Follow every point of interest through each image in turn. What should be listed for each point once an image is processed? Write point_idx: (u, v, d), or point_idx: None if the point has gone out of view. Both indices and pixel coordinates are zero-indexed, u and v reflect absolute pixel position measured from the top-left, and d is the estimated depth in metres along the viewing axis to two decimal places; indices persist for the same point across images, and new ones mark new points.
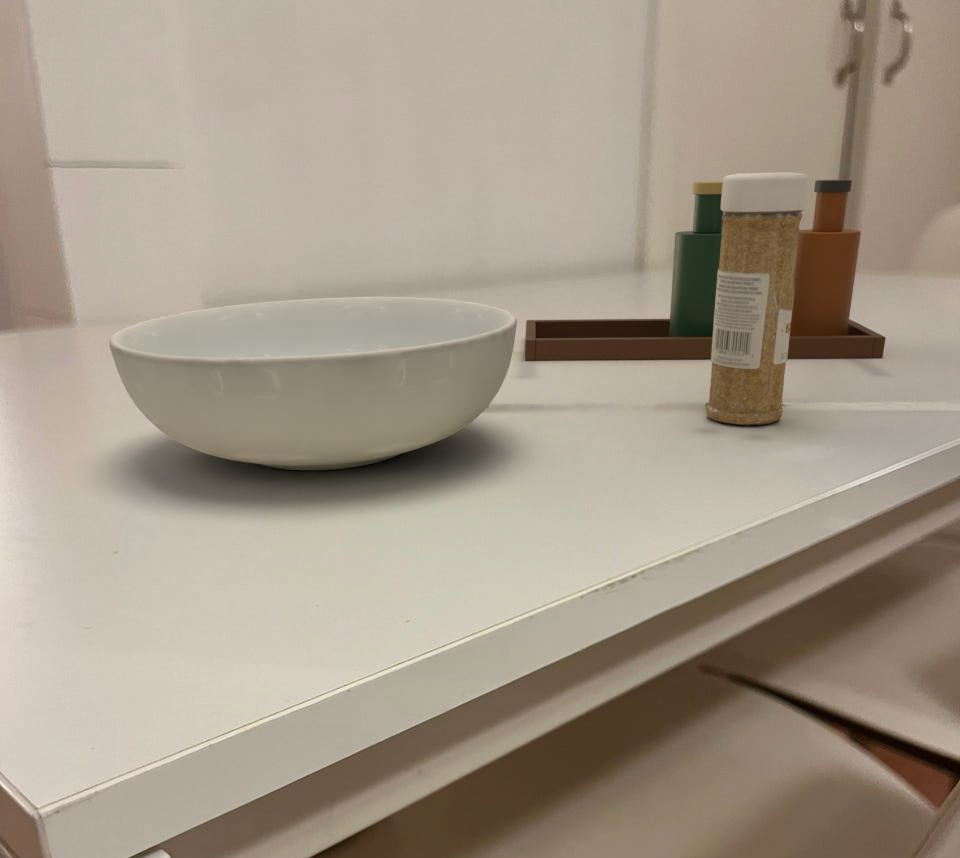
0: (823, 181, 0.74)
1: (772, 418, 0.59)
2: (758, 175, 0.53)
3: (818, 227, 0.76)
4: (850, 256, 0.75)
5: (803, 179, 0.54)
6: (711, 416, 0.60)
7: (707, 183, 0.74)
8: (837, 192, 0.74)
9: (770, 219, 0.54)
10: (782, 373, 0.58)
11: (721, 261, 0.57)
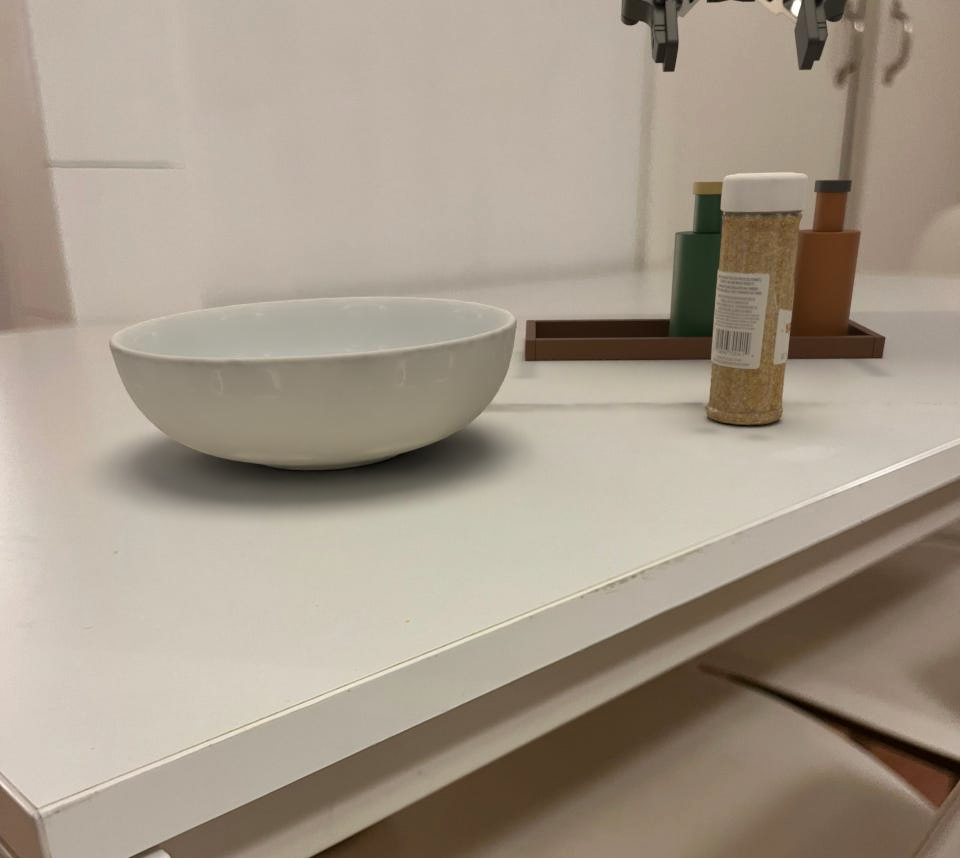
0: (823, 181, 0.74)
1: (772, 418, 0.59)
2: (758, 175, 0.53)
3: (818, 227, 0.76)
4: (850, 256, 0.75)
5: (803, 179, 0.54)
6: (711, 416, 0.60)
7: (707, 183, 0.74)
8: (837, 192, 0.74)
9: (770, 219, 0.54)
10: (782, 373, 0.58)
11: (721, 261, 0.57)
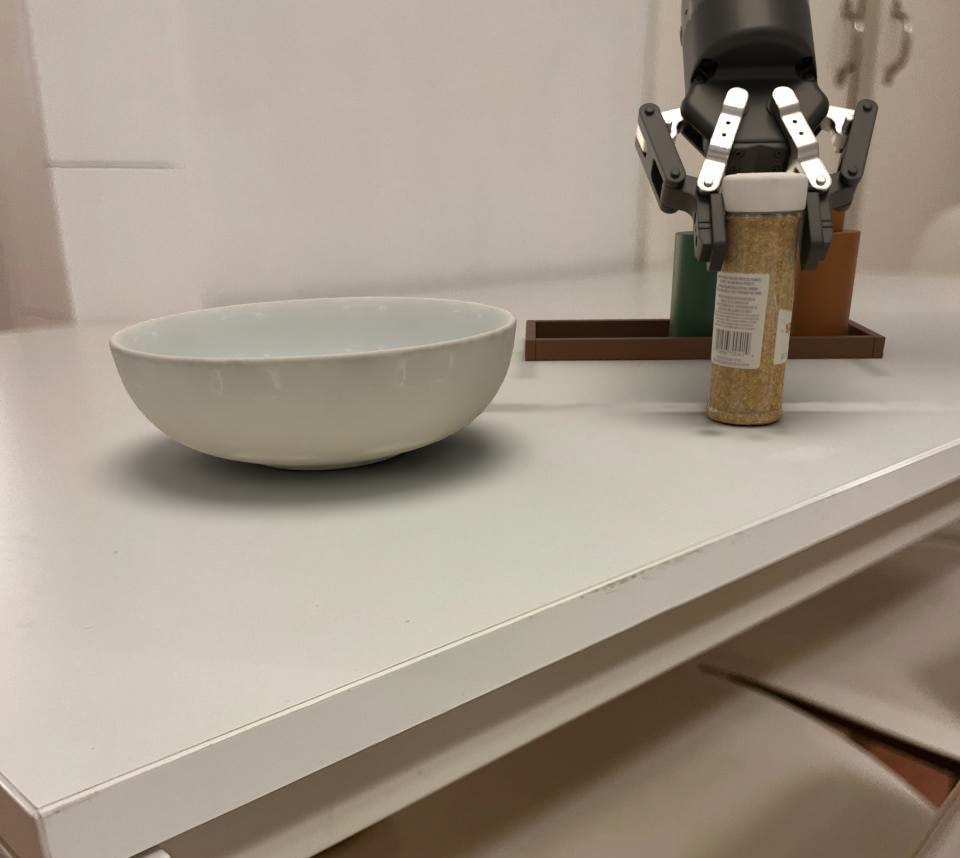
0: None
1: (772, 418, 0.59)
2: (758, 175, 0.53)
3: None
4: (850, 256, 0.75)
5: (803, 179, 0.54)
6: (711, 416, 0.60)
7: None
8: None
9: (770, 219, 0.54)
10: (782, 373, 0.58)
11: None
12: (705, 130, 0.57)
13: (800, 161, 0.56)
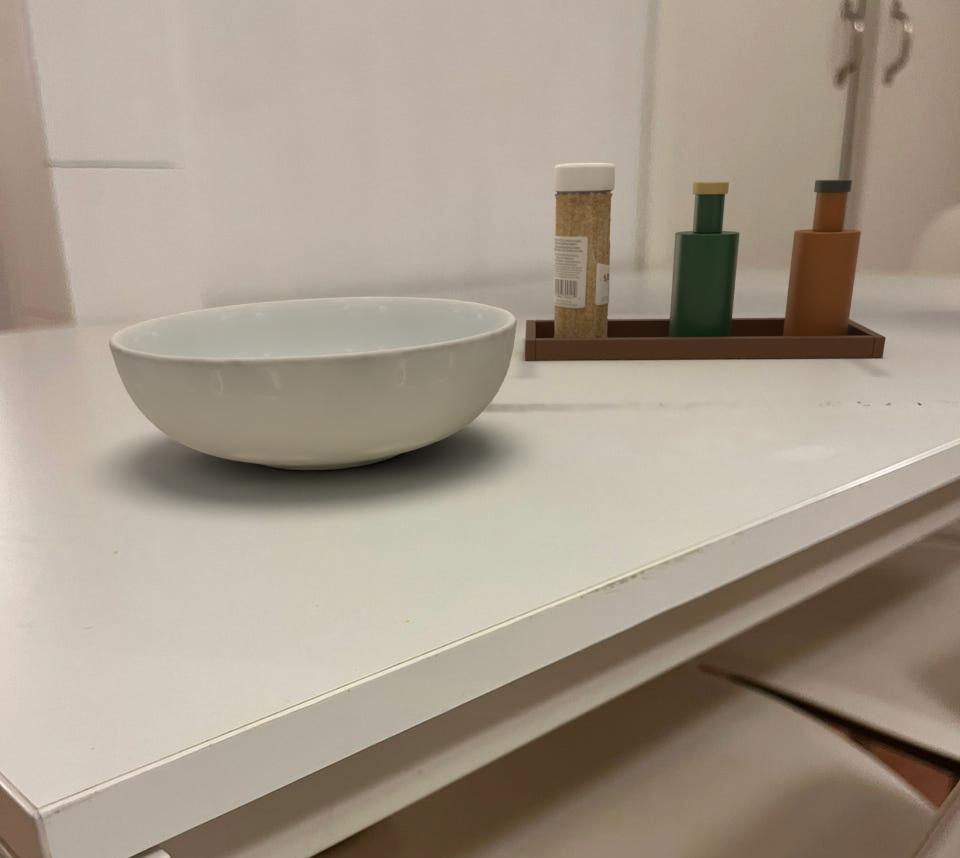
0: (823, 181, 0.74)
1: None
2: (575, 164, 0.74)
3: (818, 227, 0.76)
4: (850, 256, 0.75)
5: (608, 167, 0.74)
6: None
7: (707, 183, 0.74)
8: (837, 192, 0.74)
9: (585, 196, 0.74)
10: (604, 312, 0.79)
11: (555, 228, 0.77)
12: None
13: None
